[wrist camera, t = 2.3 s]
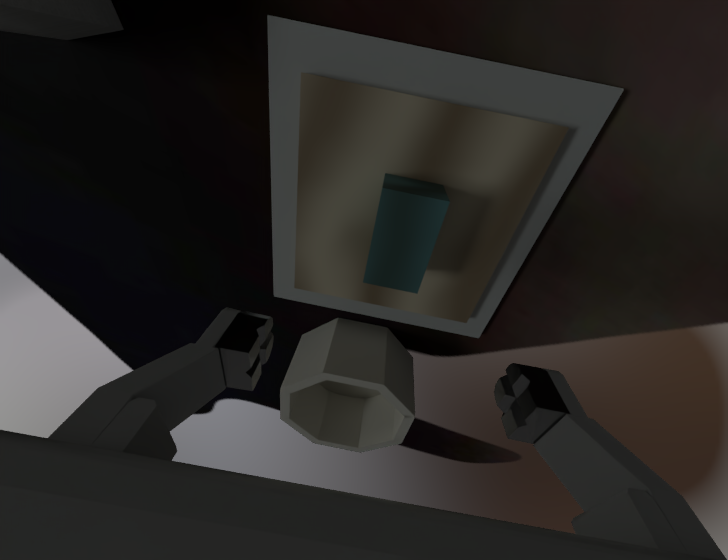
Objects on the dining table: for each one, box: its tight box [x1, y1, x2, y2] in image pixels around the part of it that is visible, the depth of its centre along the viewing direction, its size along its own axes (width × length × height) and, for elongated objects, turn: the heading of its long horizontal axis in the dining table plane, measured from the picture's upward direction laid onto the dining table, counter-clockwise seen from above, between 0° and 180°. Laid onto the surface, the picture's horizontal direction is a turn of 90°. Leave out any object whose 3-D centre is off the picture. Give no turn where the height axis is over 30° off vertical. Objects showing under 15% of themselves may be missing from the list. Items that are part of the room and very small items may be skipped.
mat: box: [267, 15, 624, 338], centre depth 19 cm, size 18×18×1 cm
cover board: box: [294, 72, 569, 323], centre depth 17 cm, size 14×14×4 cm
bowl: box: [280, 318, 415, 452], centre depth 26 cm, size 11×11×6 cm
